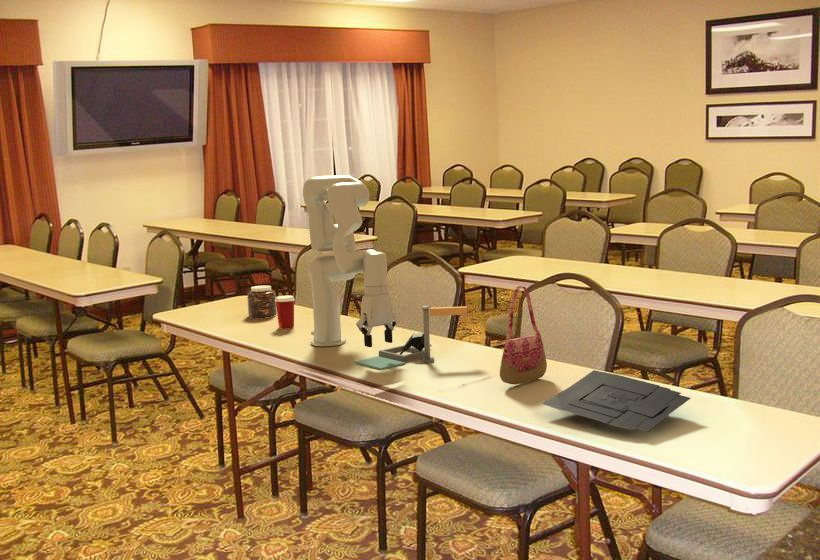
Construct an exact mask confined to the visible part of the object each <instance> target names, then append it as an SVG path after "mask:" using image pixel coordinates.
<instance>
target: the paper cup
mask: <svg viewBox="0 0 820 560" xmlns="http://www.w3.org/2000/svg"><path fill="white" fill-rule="evenodd" d="M275 301H276V308H277V315H276V316H277V323H278V329H280V328H283V329H282V330H286V329H285V328H290V329H293V328H294V327H295V297H294V295H279V296H276V300H275ZM292 327H293V328H292Z"/></svg>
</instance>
